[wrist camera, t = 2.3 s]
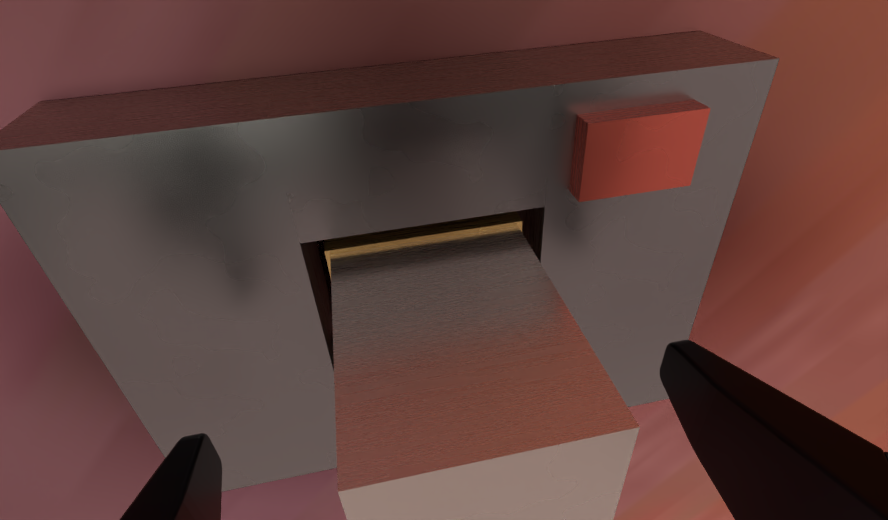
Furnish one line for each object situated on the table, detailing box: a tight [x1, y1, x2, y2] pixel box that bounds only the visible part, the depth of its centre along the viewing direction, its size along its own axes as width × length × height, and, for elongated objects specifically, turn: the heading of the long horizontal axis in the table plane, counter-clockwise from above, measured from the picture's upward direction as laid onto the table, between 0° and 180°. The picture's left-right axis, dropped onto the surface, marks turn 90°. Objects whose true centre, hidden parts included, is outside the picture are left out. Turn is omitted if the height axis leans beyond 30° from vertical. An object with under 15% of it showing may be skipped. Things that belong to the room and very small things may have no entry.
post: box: [324, 211, 640, 520], centre depth 11 cm, size 4×4×7 cm
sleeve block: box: [0, 31, 779, 492], centre depth 12 cm, size 14×10×3 cm
